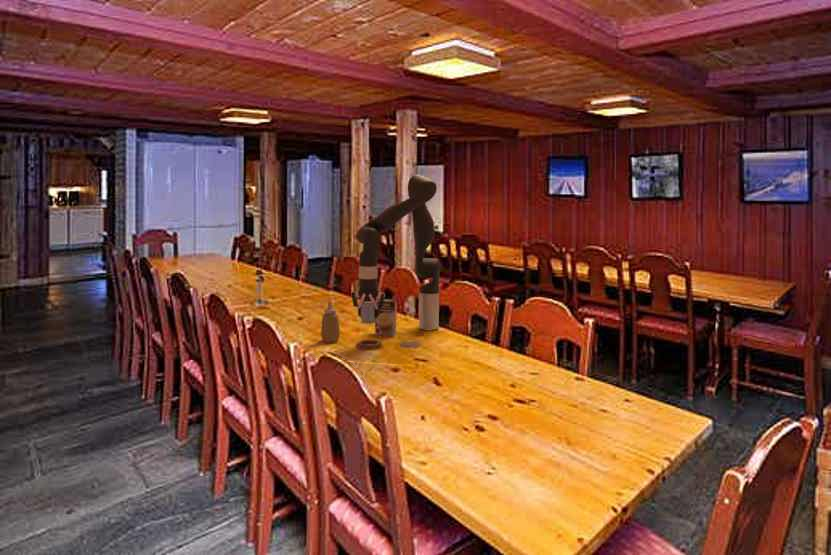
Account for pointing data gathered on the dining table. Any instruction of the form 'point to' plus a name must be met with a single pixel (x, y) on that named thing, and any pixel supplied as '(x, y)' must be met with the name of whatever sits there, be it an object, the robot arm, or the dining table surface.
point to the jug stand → (369, 345)
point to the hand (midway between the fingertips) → (368, 317)
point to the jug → (368, 313)
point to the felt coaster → (410, 344)
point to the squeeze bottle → (330, 325)
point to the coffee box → (386, 318)
